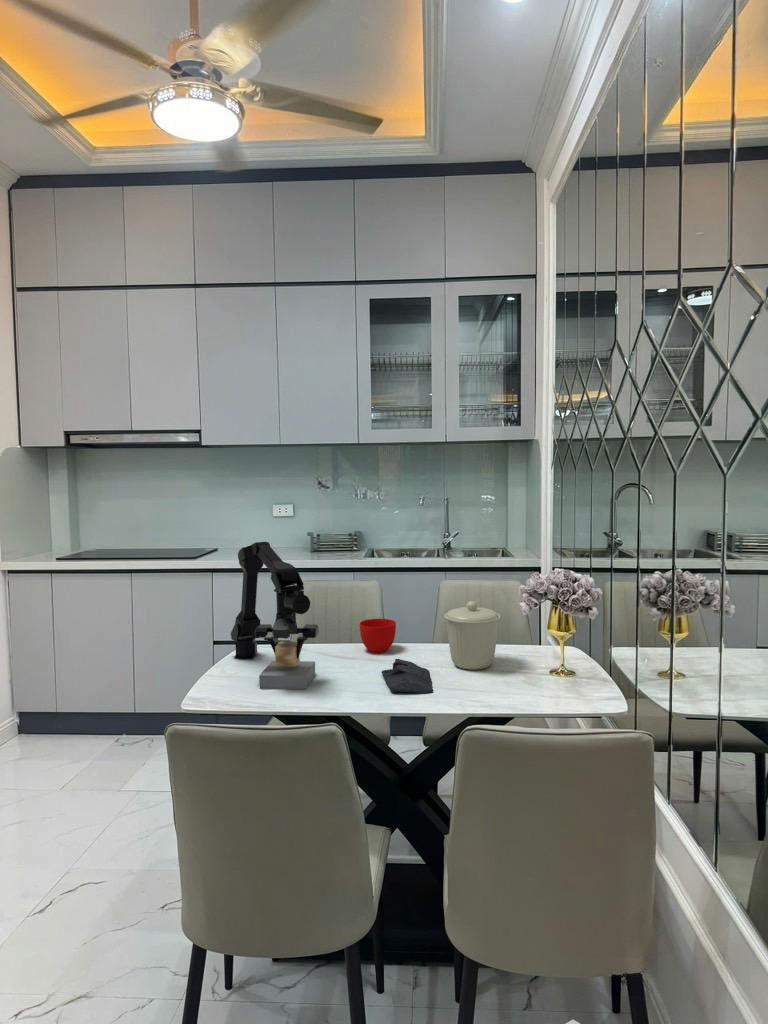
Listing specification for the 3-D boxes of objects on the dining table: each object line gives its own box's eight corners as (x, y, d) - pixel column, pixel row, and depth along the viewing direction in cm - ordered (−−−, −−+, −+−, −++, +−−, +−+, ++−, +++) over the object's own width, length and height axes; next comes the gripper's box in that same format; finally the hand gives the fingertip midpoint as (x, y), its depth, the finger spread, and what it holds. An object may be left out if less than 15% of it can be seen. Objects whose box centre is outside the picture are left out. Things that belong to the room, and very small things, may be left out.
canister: (486, 654, 215) (485, 594, 214) (510, 670, 198) (510, 604, 196) (436, 660, 210) (435, 598, 209) (457, 676, 193) (456, 609, 192)
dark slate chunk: (382, 697, 178) (382, 680, 178) (381, 672, 200) (381, 657, 200) (436, 695, 178) (435, 679, 178) (429, 671, 200) (429, 656, 200)
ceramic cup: (388, 641, 234) (388, 615, 234) (400, 654, 218) (400, 625, 217) (354, 644, 231) (354, 617, 231) (364, 657, 215) (363, 628, 214)
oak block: (275, 666, 189) (275, 646, 188) (280, 660, 195) (280, 641, 194) (295, 666, 188) (294, 647, 188) (299, 660, 194) (299, 641, 194)
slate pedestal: (259, 688, 186) (259, 675, 185) (271, 673, 199) (271, 661, 199) (306, 689, 184) (305, 675, 184) (315, 673, 198) (314, 661, 198)
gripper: (248, 614, 183) (250, 666, 184) (311, 614, 182) (312, 667, 183) (259, 606, 194) (260, 655, 195) (318, 606, 193) (319, 655, 194)
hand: (287, 658), depth 192 cm, fingers closed on oak block, 6 cm apart
